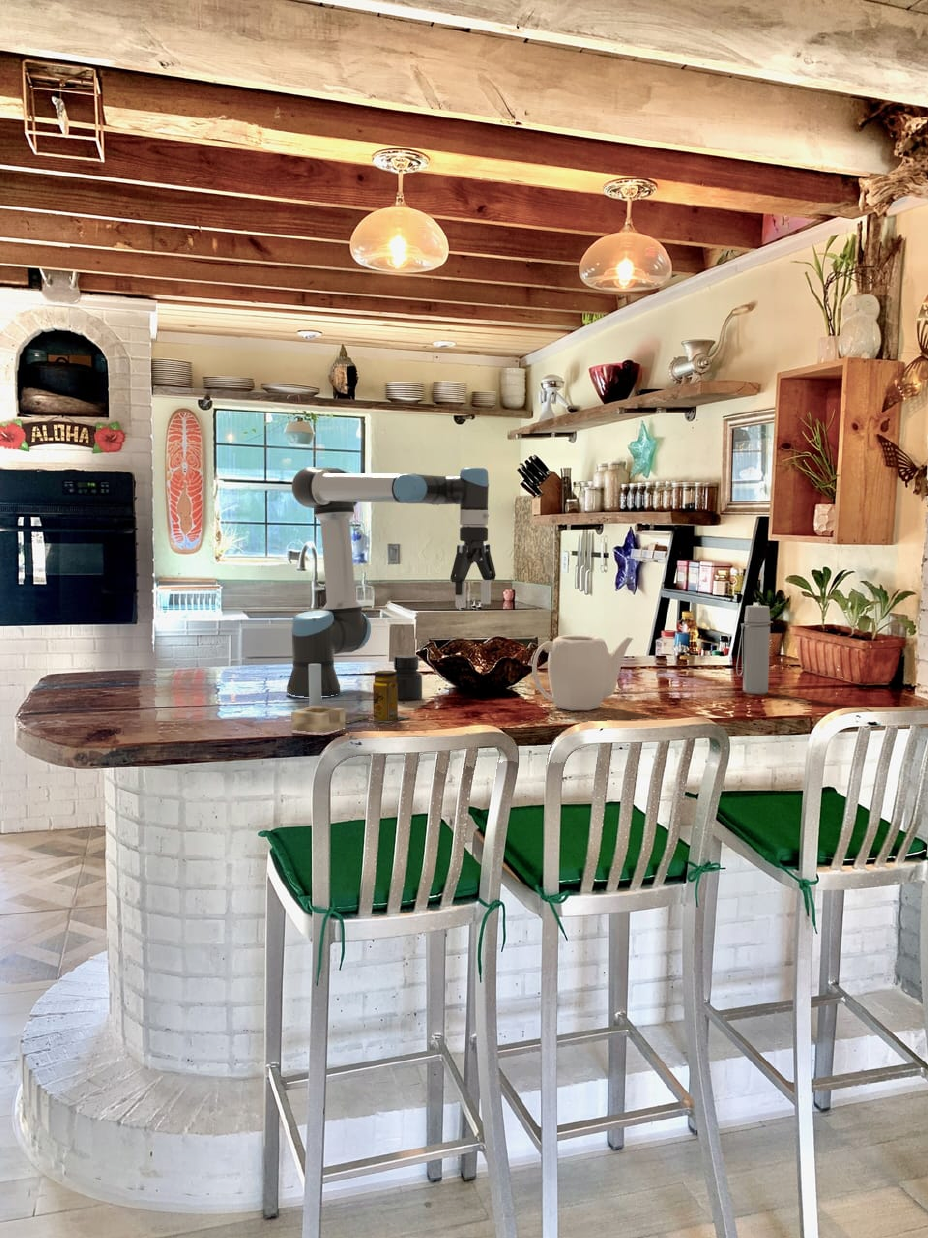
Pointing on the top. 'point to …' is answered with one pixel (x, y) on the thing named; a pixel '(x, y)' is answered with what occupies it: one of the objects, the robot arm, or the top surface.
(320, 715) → the tan hollow square block
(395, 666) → the ink bottle
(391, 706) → the condiment
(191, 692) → the top surface
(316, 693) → the white peg
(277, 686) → the top surface
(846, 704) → the top surface
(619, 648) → the watering can
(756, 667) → the water bottle
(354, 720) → the lace
